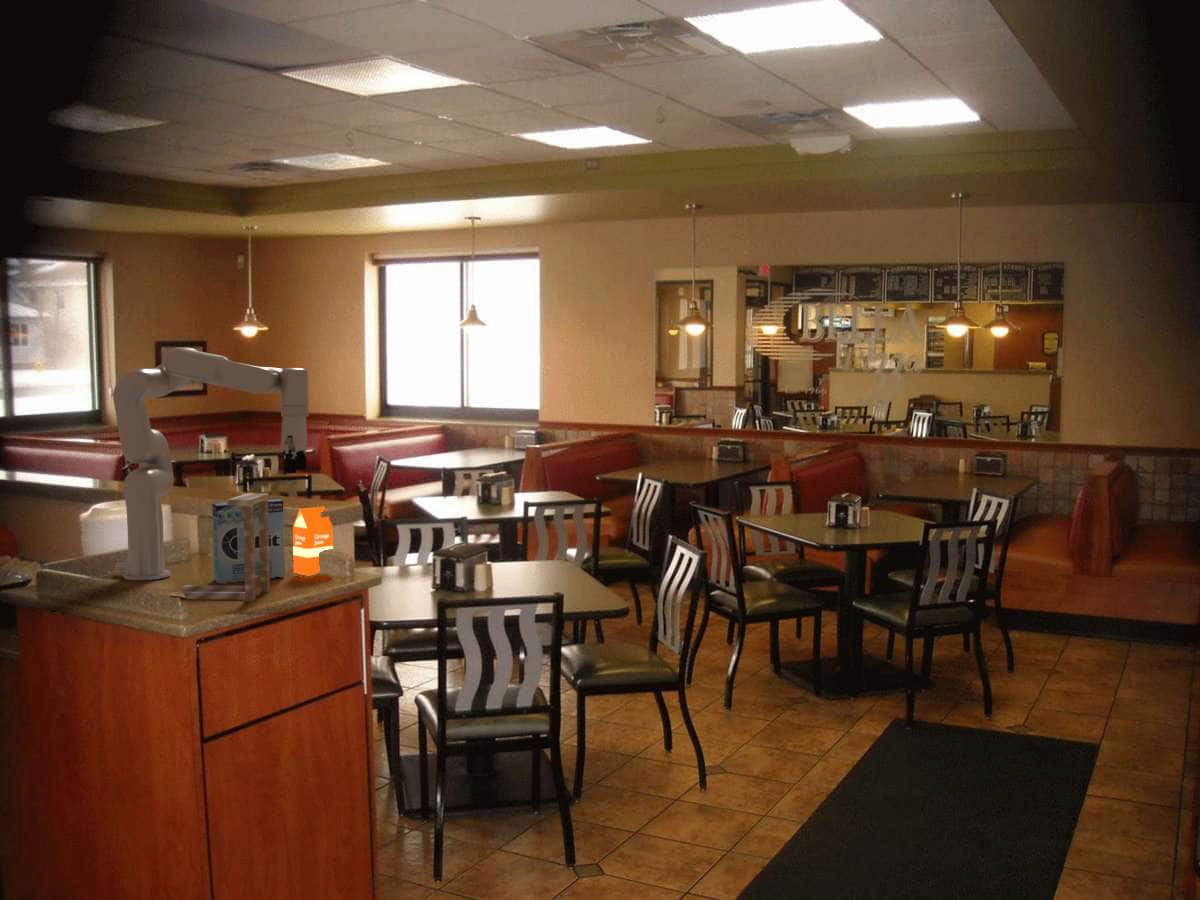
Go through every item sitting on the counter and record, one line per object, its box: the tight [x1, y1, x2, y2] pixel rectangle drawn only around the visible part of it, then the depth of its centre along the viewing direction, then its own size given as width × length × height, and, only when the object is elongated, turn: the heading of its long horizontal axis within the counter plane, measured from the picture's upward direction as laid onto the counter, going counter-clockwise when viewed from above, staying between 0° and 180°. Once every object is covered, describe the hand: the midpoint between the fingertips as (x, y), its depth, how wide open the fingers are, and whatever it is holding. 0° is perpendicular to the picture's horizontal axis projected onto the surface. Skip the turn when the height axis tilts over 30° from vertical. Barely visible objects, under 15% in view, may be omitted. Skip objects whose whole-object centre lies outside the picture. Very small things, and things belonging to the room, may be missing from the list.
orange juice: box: [292, 506, 334, 576], centre depth 332 cm, size 8×9×20 cm
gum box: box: [211, 498, 286, 584], centre depth 323 cm, size 20×5×23 cm, turn 123°
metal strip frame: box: [181, 492, 271, 602], centre depth 300 cm, size 23×15×27 cm, turn 88°
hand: (295, 471), depth 319 cm, fingers open, 9 cm apart
